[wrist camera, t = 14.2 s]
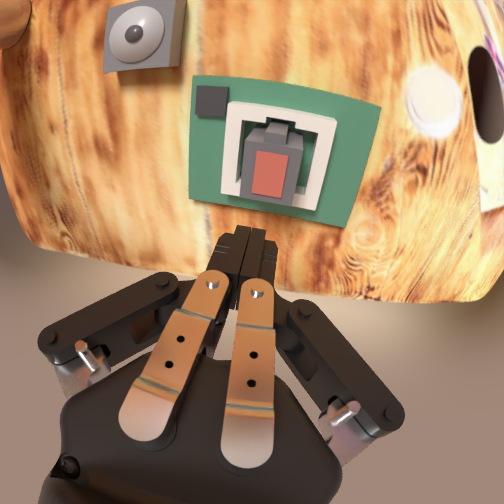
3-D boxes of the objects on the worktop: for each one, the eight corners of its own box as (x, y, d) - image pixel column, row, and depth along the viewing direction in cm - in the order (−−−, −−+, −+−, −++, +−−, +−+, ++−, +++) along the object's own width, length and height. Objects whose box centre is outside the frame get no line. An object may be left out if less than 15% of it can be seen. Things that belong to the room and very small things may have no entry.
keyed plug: (250, 171, 27) (238, 198, 22) (257, 117, 23) (245, 130, 19) (293, 178, 27) (291, 207, 22) (303, 124, 23) (305, 140, 18)
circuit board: (192, 194, 31) (182, 207, 29) (197, 75, 22) (184, 76, 20) (343, 222, 30) (347, 238, 28) (377, 105, 21) (387, 110, 19)
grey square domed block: (116, 71, 22) (100, 73, 20) (121, 10, 17) (105, 8, 15) (179, 66, 22) (166, 66, 19) (186, -1, 17) (174, -7, 14)
